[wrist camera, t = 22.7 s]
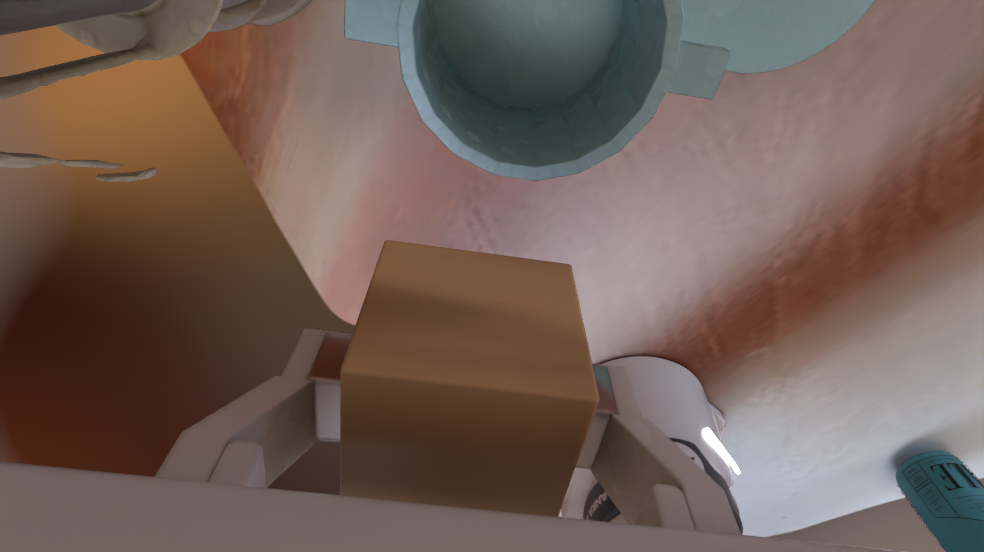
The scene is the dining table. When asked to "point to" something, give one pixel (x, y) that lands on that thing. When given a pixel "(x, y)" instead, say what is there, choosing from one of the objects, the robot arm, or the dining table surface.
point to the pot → (538, 74)
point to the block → (466, 382)
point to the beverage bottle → (945, 499)
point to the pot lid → (769, 29)
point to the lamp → (123, 43)
